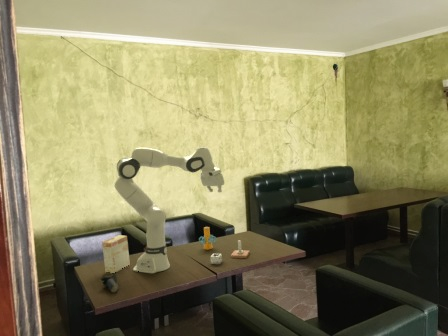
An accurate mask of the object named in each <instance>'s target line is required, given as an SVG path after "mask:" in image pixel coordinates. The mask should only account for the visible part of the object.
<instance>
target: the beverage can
mask: <svg viewBox="0 0 448 336" xmlns="http://www.w3.org/2000/svg"><path fill="white" fill-rule="evenodd" d="M100 281H101V283H102V286H103V288H106V287H105V286H108V287H107V288H108V289H109V291H110V292H111V293H116V292H118V290H119V286H118V273H117V272H116V273H114V274H110V275H106V276H105V275H102V277H100Z"/></svg>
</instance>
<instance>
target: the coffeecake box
mask: <svg viewBox="0 0 448 336" xmlns="http://www.w3.org/2000/svg"><path fill="white" fill-rule="evenodd" d="M101 245H102V252H103V253H102V254H103V260H104V269H105V270H104V271H105V273H106V272H110V273H109V274H112V273H115V272H116V273H117V272H120V271H122V270H123V269H125V268H127V267H129V266H131V264H130V263H131V262H130V261H131V260H130V253H129V243H128V235H122V234H119V235H116V236H112V237H111V238H108V239H106V240H104V241H102V242H101ZM128 265H129V266H128ZM126 266H127V267H126ZM124 267H125V268H124ZM122 268H123V269H122Z"/></svg>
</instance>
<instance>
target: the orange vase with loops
mask: <svg viewBox="0 0 448 336" xmlns="http://www.w3.org/2000/svg"><path fill="white" fill-rule="evenodd" d="M210 230H211V229H210V226H205V227H203V234H204V235H203V236H200V237H199V238H198V241H199V242H200V243H201V244H202V245H203V250H207V251H208V250H212V249H213V243H215V242H216V241H217V238H216V236H214V235H213V234H211V231H210Z"/></svg>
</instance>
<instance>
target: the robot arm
mask: <svg viewBox="0 0 448 336" xmlns="http://www.w3.org/2000/svg"><path fill="white" fill-rule="evenodd" d="M165 166H170V167H177V168H181V170H183V171H186V172H189V173H197V172H199V171H201V172H200V181H201V184H202V186H203V187H206V188H207V189H208V191H209V192H210V193H213V192H214V189H213V188H212V187H216V188H218V190H217V193H222V192H223V191H222V190H223V189H222V186H223V185H225V180H224V176H223V174H222V170H221V169H220V168H218V167H216V166H215V164H214V162H213V157H212V154H211V151H210V149H209V148H207V147H205V146H204V147H198V148H195V151H194V152H193V153H192V154H191V155H184V156H176V155H169V154H167V153H165V152H164V151H161V150H160V149H156V148H151V147H150V148H148V147H136V148H135V149H133V151H132V152H131V156H130V157H123V158H121V159H119V160H118V162H117V163H116V171H117V173H118V177H119V178H117V180H116V181H115V182H114V188H115V190H116V192H117V193H118V194H119V195H120V196H121V198H122V199H123V200H124V201H125V202H126V203H128V204H129V206H131V207H132V208H133V209H134V210H135V212H137V213H138V214H139V215H140V216H141V217H142V218H143V219H144V220H145V221H146V234H145V236H146V246H145V247H144V248H143V251H144V252H143V253H142V254H141V255H140V256H138V259H137V261H136V265H135V266H134V267H133V272H138V271H139V273H145V274H155V273H159V272H162V271H167V270H168V269H169V268H170V267H171V264H170V262H169V259H168V253H167V252H168V251H167V249H168V248H167V244H166V235H165V227H166V218H167V216H166V213H165V211H164V210H163V208H161V207H159V206H158V205H157V204H155V202H154V201H153V200H152V199H151V197H149V196H148V194H147V193H145V192H144V190H142V188H141V187H139V185H137V184H136V183H135V182H134V179H133V178H135V177H136V176H137V174H138V172H139V170H140V169H141V167H147V168H159V169H161V168H162V167H165Z"/></svg>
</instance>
